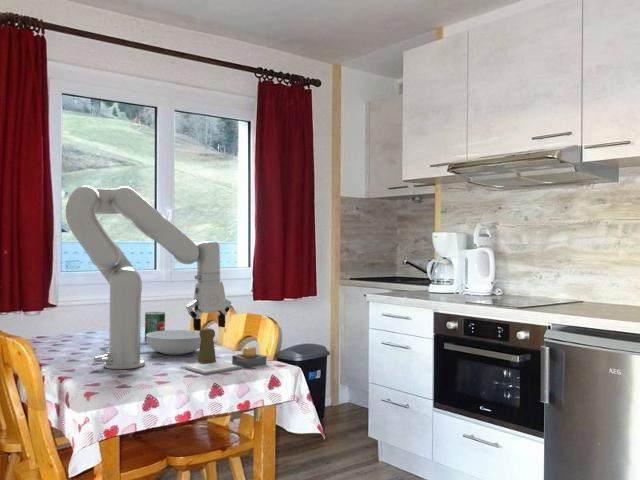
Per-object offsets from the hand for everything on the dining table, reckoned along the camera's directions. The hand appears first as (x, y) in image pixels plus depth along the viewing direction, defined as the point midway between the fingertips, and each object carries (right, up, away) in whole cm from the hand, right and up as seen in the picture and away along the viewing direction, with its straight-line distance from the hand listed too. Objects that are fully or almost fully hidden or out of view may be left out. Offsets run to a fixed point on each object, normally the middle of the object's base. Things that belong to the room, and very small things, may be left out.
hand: (209, 328), depth 199 cm
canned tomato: (-30, -11, +41) cm, 52 cm away
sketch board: (+4, -11, -12) cm, 17 cm away
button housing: (+14, -11, -4) cm, 18 cm away
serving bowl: (-15, -11, +14) cm, 23 cm away
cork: (-1, -11, 0) cm, 11 cm away
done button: (+14, -9, -4) cm, 17 cm away
